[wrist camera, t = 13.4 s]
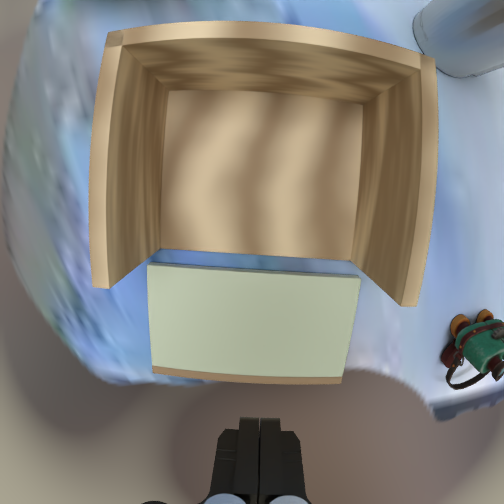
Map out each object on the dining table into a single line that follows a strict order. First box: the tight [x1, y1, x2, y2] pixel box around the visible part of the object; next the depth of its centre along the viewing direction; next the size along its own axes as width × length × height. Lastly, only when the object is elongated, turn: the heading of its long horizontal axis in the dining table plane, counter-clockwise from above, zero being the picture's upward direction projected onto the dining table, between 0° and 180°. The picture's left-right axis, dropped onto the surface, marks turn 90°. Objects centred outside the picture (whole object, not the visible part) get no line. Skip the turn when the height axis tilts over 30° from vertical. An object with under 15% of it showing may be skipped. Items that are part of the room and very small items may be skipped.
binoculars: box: [441, 309, 504, 390], centre depth 26 cm, size 9×11×10 cm
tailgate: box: [147, 262, 361, 384], centre depth 29 cm, size 20×1×12 cm
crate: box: [89, 21, 438, 307], centre depth 21 cm, size 20×16×12 cm
